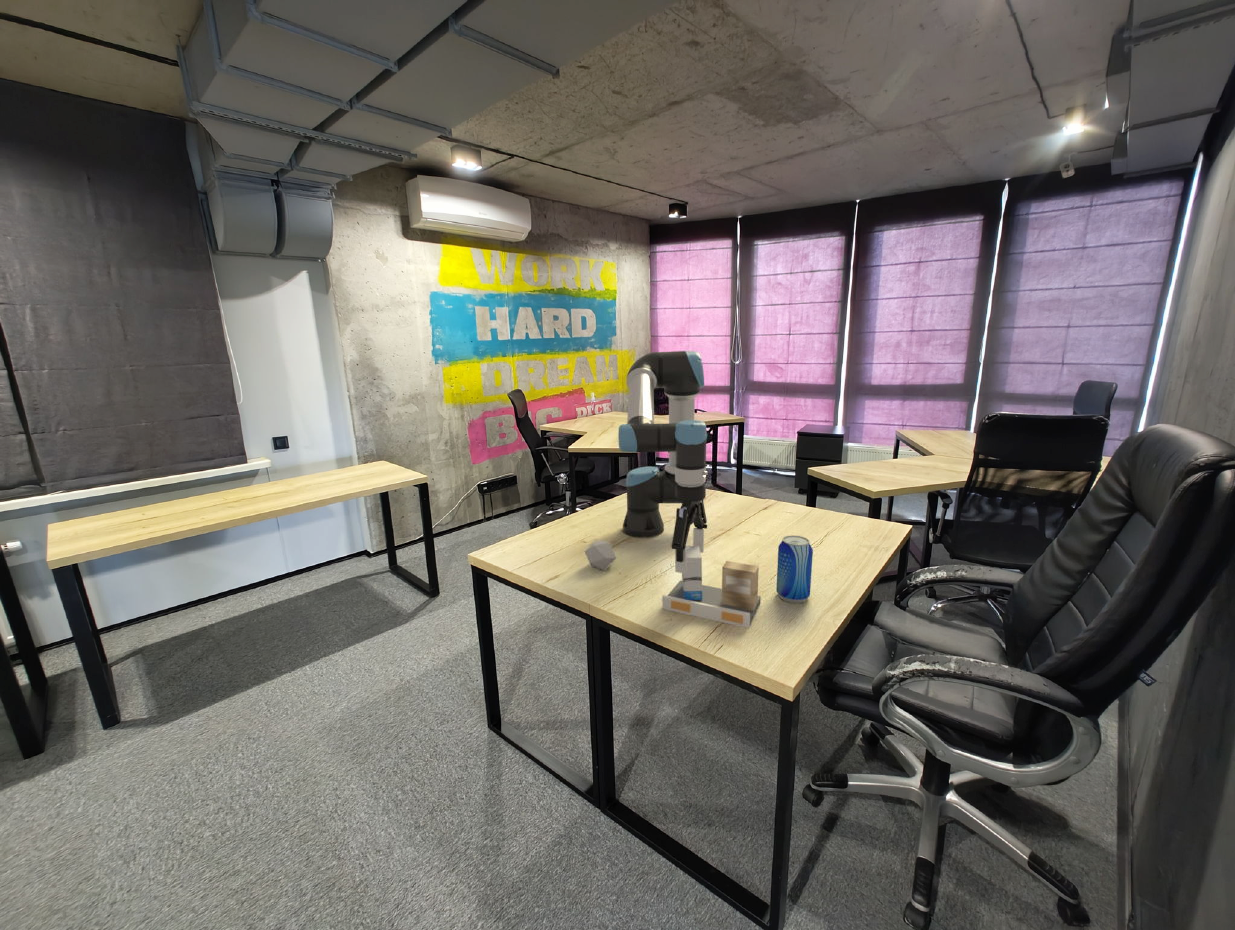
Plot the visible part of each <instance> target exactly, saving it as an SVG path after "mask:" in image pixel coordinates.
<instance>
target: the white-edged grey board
mask: <svg viewBox="0 0 1235 930" xmlns="http://www.w3.org/2000/svg"><path fill="white" fill-rule="evenodd" d="M661 597H662V598H661V599H662V600H661V601H662V603H661V604H662V609H663V610H667V611H669V612H670V611H671V612H674V613H675V612H676V613H680V614H685V615H689V616H693V617H697V618H703V619H707V620H711V621H716V622H720V623H724V624H728V625H733V626H738V627H742V628H746V629H750V627H751V624H752V623H753V620H754V618H755V616H756V614H757V611H758V609H759V607H760V606H761V599H762V597H761V595H758V598H757V605H756V607H755V609H754V611H753V610H748V609H744V608H739V607H734V606H729V605H724V604H722V587H721V588H720V587H716V586H709V585H705V584H702V600H685V599H684V595H683V586H682V580H679V581H678V583H676V585H675V586H674V587H673V588H672V590H671V591H670V592H669V593H668V594H667V595H666V594H663V595H662V596H661Z"/></svg>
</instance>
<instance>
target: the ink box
mask: <svg viewBox="0 0 1235 930" xmlns="http://www.w3.org/2000/svg"><path fill="white" fill-rule="evenodd" d="M685 548H687V573H686V574H684V573H681V581H682V586H683V595H684V599H685V600H702V585H703V569H702V568H703V566H702V565H703V564H702V563H703V561H702V559H703V558H702V554H701V552H700V549H699V546H693V545H686V547H685Z"/></svg>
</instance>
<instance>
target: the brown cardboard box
mask: <svg viewBox="0 0 1235 930" xmlns="http://www.w3.org/2000/svg"><path fill="white" fill-rule="evenodd" d="M759 567H760V566H759V565H753V564H746V563H741V562H736V561H729V560H726V561H725V562H724V564H723V565H722V569H721V570H722V571H721V572H722V573H721V575H722V576H721V589H722V604H724V605H729V606H734V607H739V608H744V609H748V610H753V611H754V609H755V607H756V605H757V598H758V596H759V595H758V593H759V570H760V569H759Z"/></svg>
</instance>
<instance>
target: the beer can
mask: <svg viewBox="0 0 1235 930" xmlns="http://www.w3.org/2000/svg"><path fill="white" fill-rule="evenodd" d="M810 541H811V540H809V539H808V538H807V537H804V536H801V535H794V534H793V535H786V536H783V537H782V540H781V541H780V543H779V544H778V546H777V547H778V548H777V549H778V552H777V567H776V568H777V571H776V588H775V589H776V591H775V592H776V593H777V595H778V596H779V598H780V599H781V600H782V601H785V602H788V603H792V604H801V603H804V602H806V601H807V600H808V598H810V597H811V596H810V595H811V585H812V571H813V570H812V569H813V568H812V567H813V552H814V549H813V547H812V546H811V544H810Z"/></svg>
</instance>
